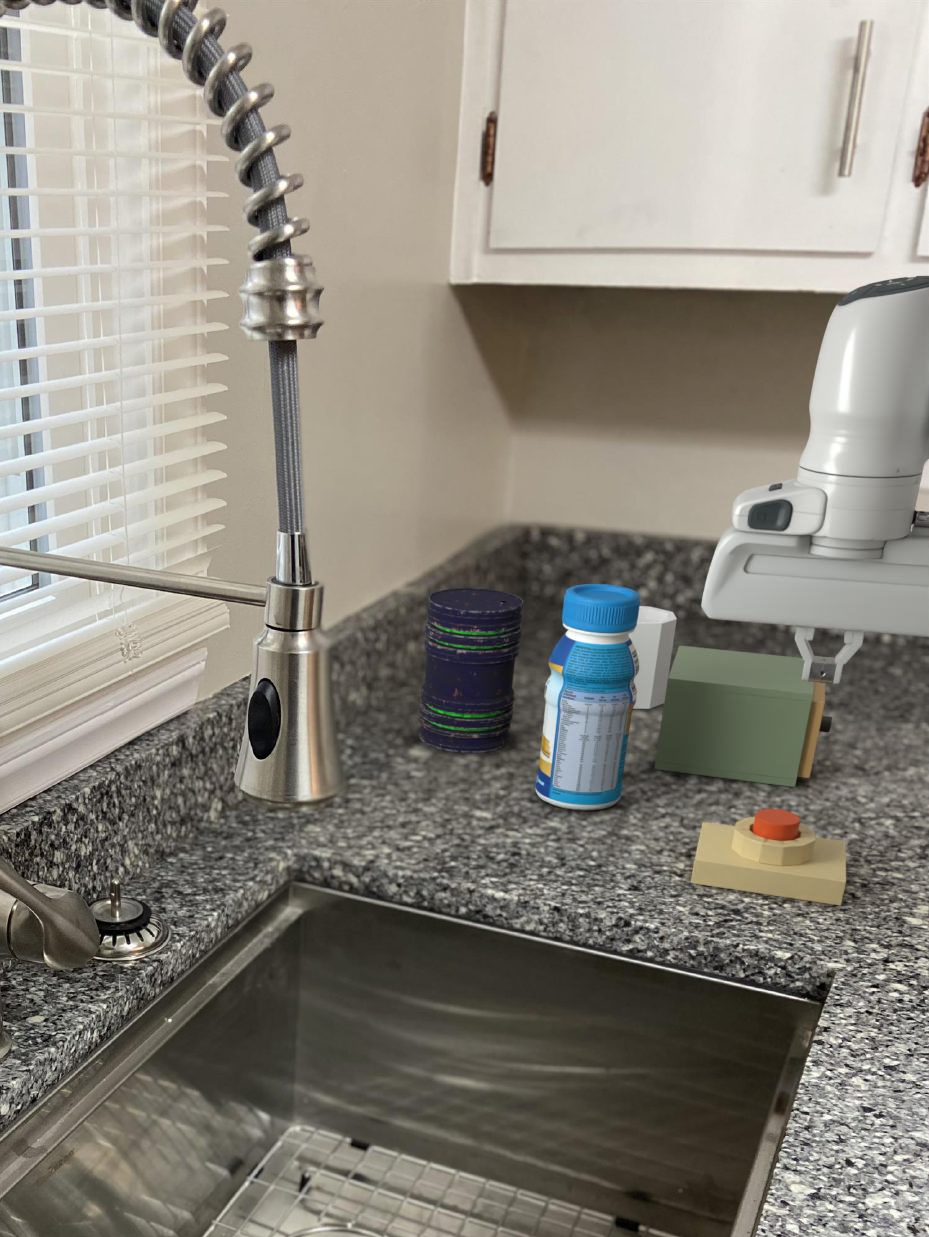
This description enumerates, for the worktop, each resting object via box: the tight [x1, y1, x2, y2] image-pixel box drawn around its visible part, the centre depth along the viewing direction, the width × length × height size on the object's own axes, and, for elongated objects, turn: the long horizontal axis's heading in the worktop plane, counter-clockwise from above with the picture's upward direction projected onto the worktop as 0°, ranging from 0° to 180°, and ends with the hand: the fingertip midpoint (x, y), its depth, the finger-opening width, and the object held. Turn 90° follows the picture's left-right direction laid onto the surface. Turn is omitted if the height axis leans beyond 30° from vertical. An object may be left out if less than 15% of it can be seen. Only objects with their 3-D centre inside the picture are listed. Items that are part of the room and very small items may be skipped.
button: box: [752, 808, 801, 841], centre depth 123 cm, size 4×4×2 cm
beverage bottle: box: [534, 583, 641, 811], centre depth 136 cm, size 8×8×20 cm
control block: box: [690, 816, 847, 906], centre depth 124 cm, size 12×9×4 cm
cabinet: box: [653, 645, 814, 788], centre depth 149 cm, size 14×13×10 cm
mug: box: [628, 605, 678, 710], centre depth 167 cm, size 12×9×10 cm
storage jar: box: [418, 587, 524, 754], centre depth 153 cm, size 10×10×15 cm
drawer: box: [797, 682, 833, 779], centre depth 148 cm, size 14×11×8 cm
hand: (820, 681), depth 118 cm, fingers closed
